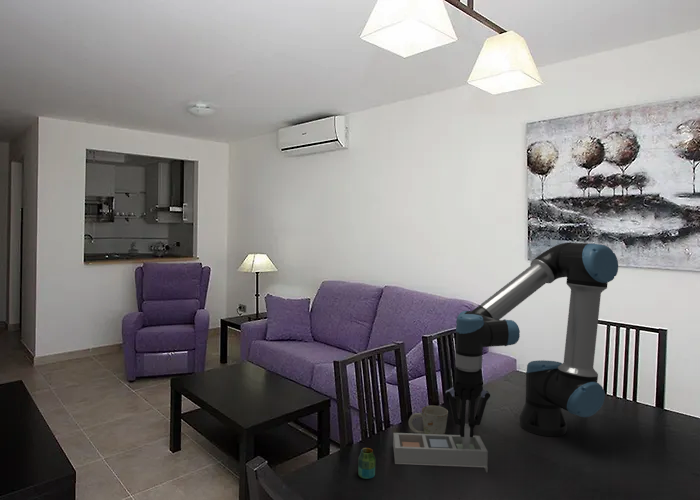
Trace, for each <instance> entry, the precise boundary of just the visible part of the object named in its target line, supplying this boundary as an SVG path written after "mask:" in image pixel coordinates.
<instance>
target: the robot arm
mask: <svg viewBox="0 0 700 500" xmlns="http://www.w3.org/2000/svg"><path fill="white" fill-rule="evenodd" d="M618 272H619V259H618V258H617V255H616V254H615V252H614V251H613V249H611V248H610V247H609V246H607V245H605V244H600V243H599V244H598V243H591V242H590V243H588V242H587V243H585V242H584V243H582V242H564V243H563V242H562V243H559V244H557V245H553V246H552V247H550V248H549V249H547V250H545V251H544V252H542V253H541V254H539V255H538V256H536V257H535V258H534V259H533V260H531V261H530V266H528V267H527V268H526V269H524V270H523V271H522V272H521V273H519V274H518V275H516V276H515V277H514V278H513V279H512V280H510V281H509V282H508V283H507V284H505V285H504V286H502V287H501V288H500V289H499V290H497V291H496V292H495V293H493V294H492V295H491V296H490V297H489V298H487V299H486V300H485V301H483V302H482V303H481V304H479V305H478V306H476V307H475V308H474V309H472V310H463V311H461V312H460V313H458V315H457V317H456V321H455V323H456V324H455V325H456V327H455V368H454V383H453V384H452V387H450V388H449V389H448V388H447V389H445V394H446V397H447V398H448V400H449V405H450V410H451V411H450V412H451V414H452V420H453V422H454V424H455V425H458V426H459V431H458V433H459V434H458V435H460V436H461V437H463V443H462V445H463V448H464V449H469V446H470V437H473V436H474V431H475V429H474V428H475V427H476V426H480V425H481V423H482V421H483V415H484V413H485V408H486V405H487V402H488V400H489V399H490V398H491V393H490V392H489V391H488V390H485V389H484V387H483V385H482V375H483V373H482V367H483V349H484V348H487V347H508V346H512V345H516V344H517V343H518V342H519V340H520V337H521V336H520V333H521V331H520V327H519V325H518V324H517V322H515V321H514V320H512V319H502V318H503V317H505V316H506V315H507V314H508V313H510V312H512V311H513V310H514V309H515V308H516V307H518V306H519V305H520V304H522V303H523V302H524V301H525V300H527V299H528V298H530V296H531V295H533V294H534V293H536V292H537V291H538V290H540V288H542V287H543V286H544V285H546V284H551V283H554V281H556V280H557V279H561V278H566V283H565V284H566V285H567V286H568V288H569V289H570V297H569V304H568V305H569V306H568V315H567V325H566V336H565V346H564V354H563V363H562V362H560V361H555V360H545V359H543V360H542V359H541V360H532V361H529V362H528V364H526V372H525V404H524V406H523V408H522V411H521V414H520V415H519V422H518V423H519V426H520V427H521V428H522V429H524V431H527V432H529V433H533V434H535V435H538V436H544V437H560V436H563V435H565V434H566V433H567V422H566V419H565V418H566V417H565V415H564V412H563V410H564V411H567V412H568V413H569V414H572V415H576V416H578V417H581V418H589V417H593V416H594V415H596V414H597V413H598V412H599V411H600V410H601V408H602V406H603V405H604V402H605V398H606V393H605V390H604V387H603V386H602V385H601V384H600V383H599V382H598V379H599V373H598V372H597V371H596V370H595V369H594V363H595V354H596V344H597V334H598V327H599V316H600V308H601V307H600V305H601V296H602V292H604V291H605V290H606V289H608V283H610V282H612V281H613V280H614V279H615V277H616V276H617V275H618ZM455 394H456V395H457V396H458V398H459V415H458V413H457V407H456V402H455V399H454V397H455ZM479 395H480V398H479V401H478V402H479V403H478V405H477V409H475V408H476V407H475V406H476V399H477V398H478V397H479ZM467 401H468V415H467V416H468V417H467V418H468V419H467V420H468V421H467V423H466V411H467V410H466V407H467ZM475 410H476V413H475ZM458 416H459V417H458Z"/></svg>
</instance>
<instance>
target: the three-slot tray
mask: <svg viewBox="0 0 700 500" xmlns="http://www.w3.org/2000/svg"><path fill="white" fill-rule="evenodd" d="M429 439H443V440H446V441H447V444H448V447H449V448H429ZM392 440H393V442H392V447H393V448H392V449H393V457H394V464H395V465H414V466H415V465H416V466H417V465H419V466H439V467H443V466H444V467H466V468H467V467H469V468H484V470H485V472H486V473H488V472H489V471H488V470H489V468H488V467H489V466H488V455H489V454H488V453H489V451H488V449H487V448H486V446H485V444H484V442H483V440H482V438H481V435H473V437H470V444H473V446H474V448H475V449H457V448H456V444H462V443H463V437H461V436H460V434H445V435H441V434H418V433H415V432H414V433H412V432H411V433H409V432H408V433H406V432H393V439H392ZM402 442H419V445H420V447H402Z"/></svg>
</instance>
